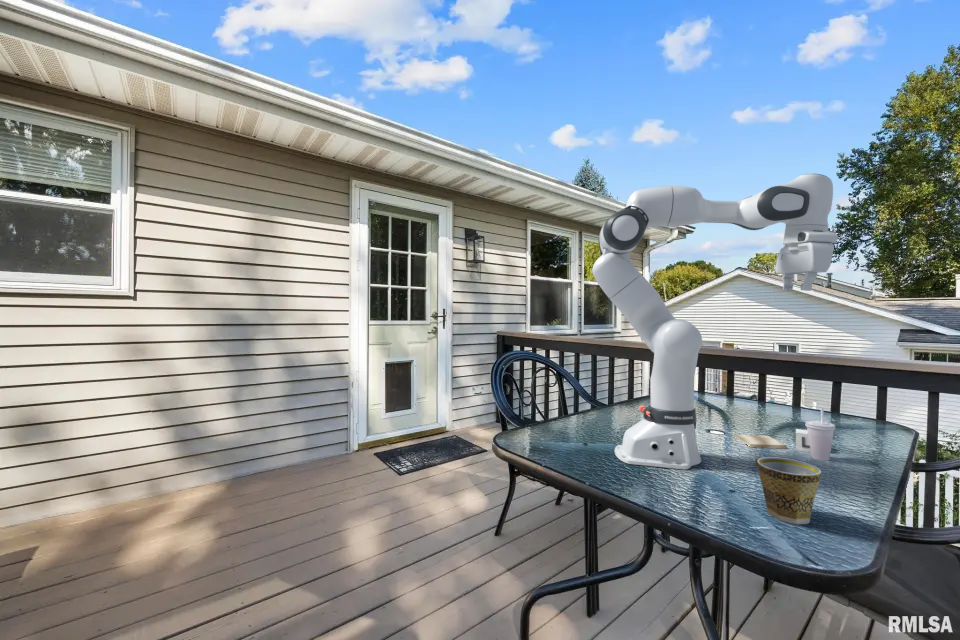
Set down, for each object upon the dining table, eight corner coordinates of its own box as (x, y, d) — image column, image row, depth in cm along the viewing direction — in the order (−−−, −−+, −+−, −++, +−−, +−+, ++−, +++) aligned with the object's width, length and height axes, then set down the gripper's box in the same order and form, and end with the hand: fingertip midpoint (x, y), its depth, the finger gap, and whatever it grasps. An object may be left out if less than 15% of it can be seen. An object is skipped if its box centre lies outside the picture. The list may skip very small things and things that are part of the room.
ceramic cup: (836, 528, 74) (835, 474, 74) (786, 530, 73) (785, 476, 73) (778, 497, 87) (778, 451, 87) (735, 499, 86) (734, 453, 86)
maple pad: (750, 447, 120) (750, 444, 120) (734, 437, 130) (734, 434, 130) (786, 448, 119) (786, 445, 119) (767, 438, 129) (767, 435, 129)
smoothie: (841, 463, 107) (841, 410, 107) (814, 461, 108) (813, 410, 108) (826, 455, 113) (825, 405, 113) (800, 454, 114) (799, 405, 114)
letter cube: (818, 452, 115) (817, 435, 115) (796, 449, 118) (795, 432, 118) (817, 448, 119) (817, 431, 119) (796, 445, 122) (795, 428, 123)
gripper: (772, 242, 117) (765, 289, 118) (811, 232, 97) (802, 289, 98) (797, 243, 115) (790, 290, 117) (842, 234, 95) (832, 291, 97)
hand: (796, 290), depth 107 cm, fingers open, 8 cm apart
